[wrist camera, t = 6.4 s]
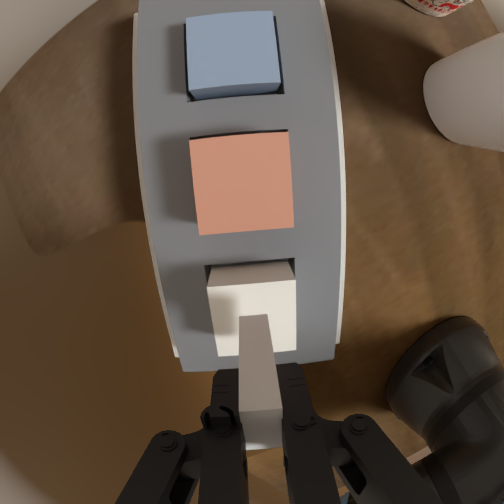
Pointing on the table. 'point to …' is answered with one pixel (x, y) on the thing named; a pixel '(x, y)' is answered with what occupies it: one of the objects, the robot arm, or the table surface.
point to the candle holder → (469, 94)
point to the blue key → (232, 55)
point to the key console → (238, 123)
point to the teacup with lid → (438, 6)
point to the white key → (253, 303)
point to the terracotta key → (242, 182)
